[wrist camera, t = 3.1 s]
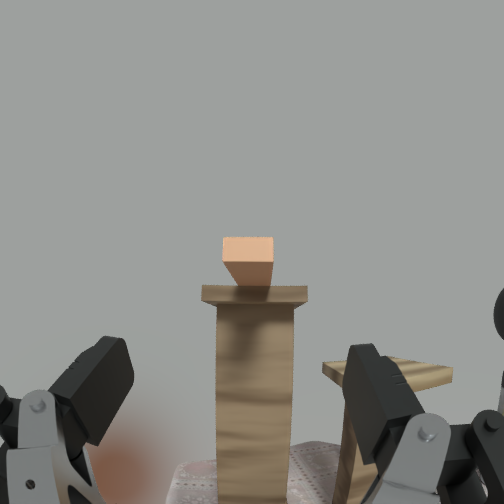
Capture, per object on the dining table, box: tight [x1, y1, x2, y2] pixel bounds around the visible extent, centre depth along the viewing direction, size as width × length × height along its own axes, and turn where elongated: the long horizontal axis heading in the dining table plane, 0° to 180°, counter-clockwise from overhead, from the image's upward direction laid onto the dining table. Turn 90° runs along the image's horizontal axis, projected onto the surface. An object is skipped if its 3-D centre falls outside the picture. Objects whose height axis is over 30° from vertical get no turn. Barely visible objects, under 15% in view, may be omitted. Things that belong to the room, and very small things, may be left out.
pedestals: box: [201, 285, 453, 504], centre depth 26 cm, size 18×24×34 cm
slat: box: [223, 237, 274, 286], centre depth 30 cm, size 28×3×2 cm, turn 177°
